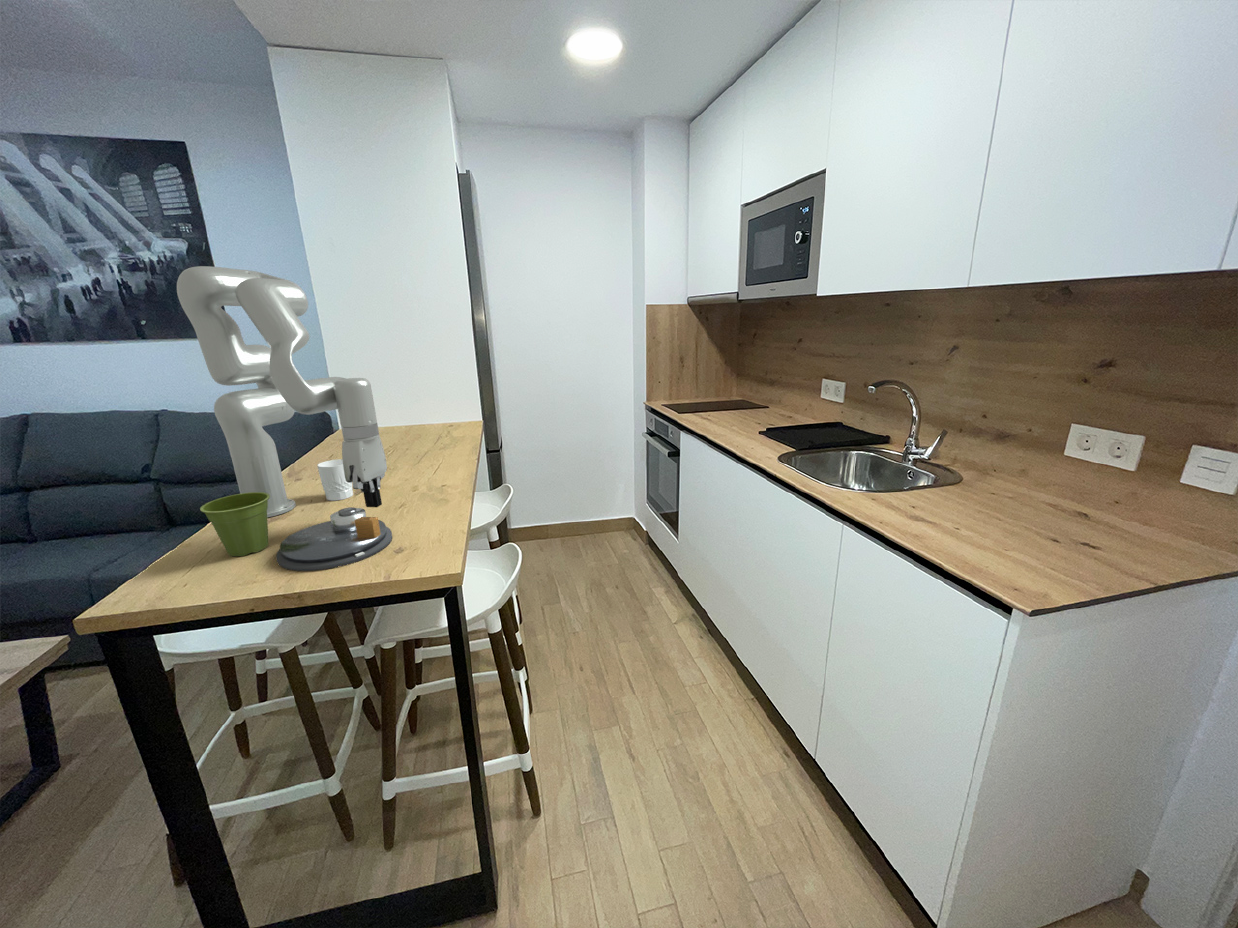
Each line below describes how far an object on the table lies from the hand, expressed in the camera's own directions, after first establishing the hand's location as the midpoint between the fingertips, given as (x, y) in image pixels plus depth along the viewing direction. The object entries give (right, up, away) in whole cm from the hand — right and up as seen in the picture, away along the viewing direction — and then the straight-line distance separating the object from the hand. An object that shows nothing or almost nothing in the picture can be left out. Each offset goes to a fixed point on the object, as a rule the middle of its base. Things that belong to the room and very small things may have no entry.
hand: (374, 505), depth 120 cm
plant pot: (-21, -9, -12) cm, 26 cm away
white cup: (-20, +1, +20) cm, 28 cm away
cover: (-1, -4, -8) cm, 9 cm away
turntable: (-2, -7, -12) cm, 14 cm away
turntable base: (-2, -8, -12) cm, 15 cm away
